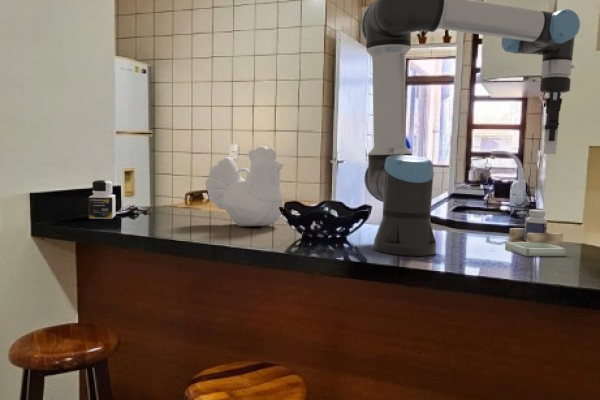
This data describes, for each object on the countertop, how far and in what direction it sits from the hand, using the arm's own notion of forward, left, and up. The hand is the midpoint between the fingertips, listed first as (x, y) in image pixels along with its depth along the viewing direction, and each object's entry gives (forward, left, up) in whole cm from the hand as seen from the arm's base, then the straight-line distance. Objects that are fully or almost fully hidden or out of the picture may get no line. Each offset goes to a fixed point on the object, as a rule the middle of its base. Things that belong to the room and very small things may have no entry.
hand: (549, 154), depth 148 cm
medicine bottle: (-128, +45, -26) cm, 138 cm away
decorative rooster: (-83, +30, -26) cm, 92 cm away
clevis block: (-6, -5, -25) cm, 26 cm away
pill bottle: (-6, -5, -26) cm, 26 cm away
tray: (-13, -15, -25) cm, 32 cm away
